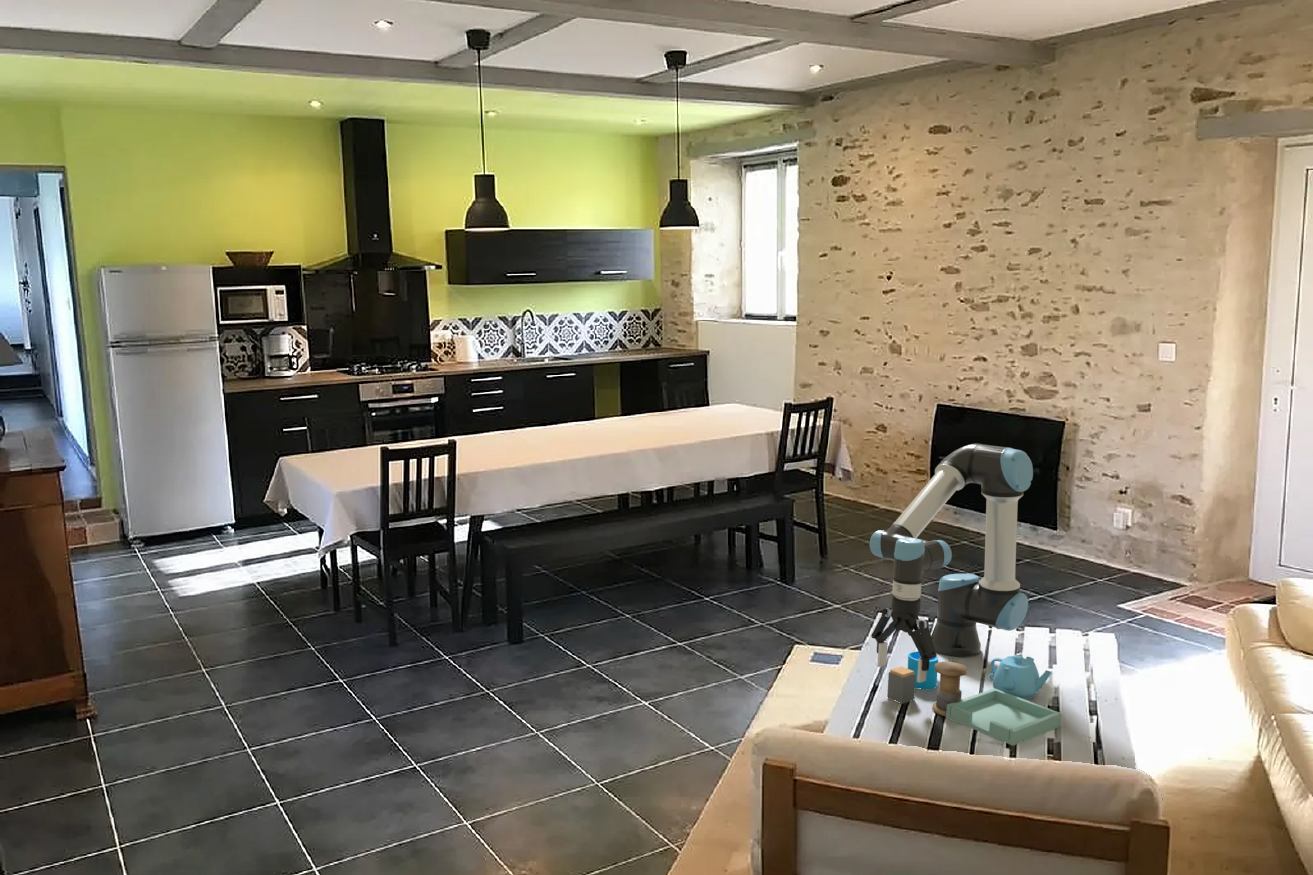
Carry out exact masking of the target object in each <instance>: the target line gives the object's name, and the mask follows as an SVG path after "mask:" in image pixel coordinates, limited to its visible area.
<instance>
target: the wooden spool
mask: <svg viewBox="0 0 1313 875" xmlns="http://www.w3.org/2000/svg"><path fill="white" fill-rule="evenodd" d="M935 671H936V672H937V674H940V675H939V686H937V687H936V688H937V689H936V700H935V701H936V702H934V703H932V706H931V708H932V711H933V710H934V711H933V712H934V713H935V714H937V715H939V716H943V717H946V711H947V705H948V704H950V703H957V702H960V701H961V700H962V695H963V693H962V690H961V689H960V688H961V686H960V685H961V684H960V683H961V677H963V676H965V675H966V674H967V671H968V668H967V666H965V665H964V664H962V663H958V662H953V661H938V663H936V664H935Z"/></svg>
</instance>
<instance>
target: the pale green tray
mask: <svg viewBox="0 0 1313 875" xmlns="http://www.w3.org/2000/svg"><path fill="white" fill-rule="evenodd" d="M945 718H946V719H948V720H951V721H953V722H956V723H958V724H960V725H963V726H965V727H968V728H970V729H973V730H974V731H977V732H980V733H982V734H984V735H987V736H989V737H992V738H994V739H996V740H999V741H1001V742H1003V743H1006V744H1008V745H1011V746H1016V745H1018V744H1020V743H1023V742H1025V741H1028V740H1030V739H1033V738H1036V737H1038V736H1040V735H1043V734H1045V733H1047V732H1050V731H1053V730H1055V729H1058V728H1060V727H1061V726H1062V725H1061V724H1062V713H1061V712H1059V711H1056V710H1054V709H1052V708H1049V707H1045V706H1043V705H1040V704H1037V703H1035V702H1032V701H1030V700H1028V699H1022V698H1019V697H1017V696H1014V695H1011V694H1009V693H1006V692H1003V691H1001V690H998V689H995V688H994V687H993V688H991V689H988V690H985V691H983V692H980V693H976V694H974V695H971V696H968V697H966V698H963V699H962V698H961V701H960V702H957V703H950V704H948V705H947V711H946V716H945Z"/></svg>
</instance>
